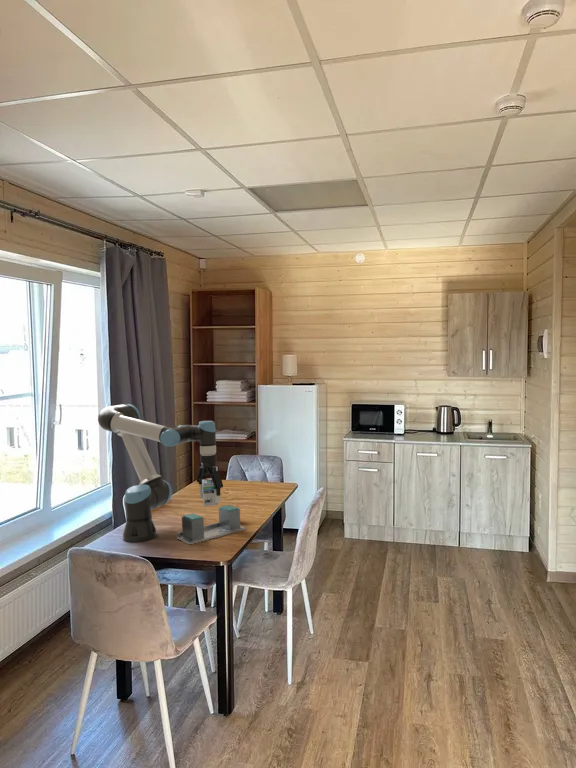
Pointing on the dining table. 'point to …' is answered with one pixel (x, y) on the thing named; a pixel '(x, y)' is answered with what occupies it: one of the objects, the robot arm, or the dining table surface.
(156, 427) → the robot arm
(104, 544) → the dining table surface
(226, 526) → the grey u-shaped stand
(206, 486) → the light bulb box
